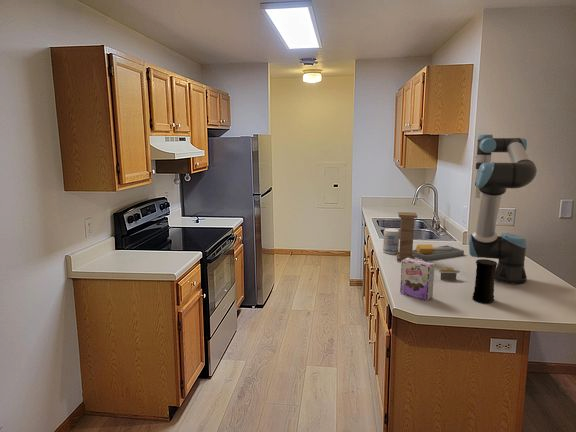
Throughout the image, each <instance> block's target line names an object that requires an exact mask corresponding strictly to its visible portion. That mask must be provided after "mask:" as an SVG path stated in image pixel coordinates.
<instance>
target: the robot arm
mask: <svg viewBox="0 0 576 432" xmlns="http://www.w3.org/2000/svg"><path fill="white" fill-rule="evenodd" d="M493 136H494V135H493V134H479V135H478V136H477V147H476V148H477V149H476V156H475V161H476V163H475V170H477V172H476V177H475V182H474V186H475V191H474V194H475V195H474V198H475V199H480V202H479V207H478V213H477V214H478V215H477V221H476V222H477V223H476V228H475V229H474V230H473V231H472V233H469V234H468V248H469V249H468V250H469V251H468V252H469V256H471V257H473V258H478V259H479V258H480V259H494V260H495V259H497V260H498V262H497V266H496V269H495V272H496V273H495V280H496V281H498V282H501V283H504V284H510V285H523V284H526V283H527V280H528V277H527V274H526V273H527V272H526V268H525V261H526V259H525V258H526V249H527V240H526V238H525V237H523V236H520V235H517V234H514V233H505V232H503V233H502V232H501V234H500V235H499V236H498V233H497V232H496V227H497V222H498V217H499V216H498V215H499V211H500V210H499V209H500V206H501V199H502V196H503V195H504V194H505V193H506V191H507V189H520V188H524V187H526V186H528V185H529V184H531V183H532V182H533V181H534V179H535V178H536V176H537V173H538V172H537V171H538V168H537V166H536V164H535V162H534V161H532V160H531V159H530V158H529V155H528V154H527V152H526V150H527V147H528V142H527V141H528V140H527V138H524V137H493ZM492 153H507V154H508V157H509V159H510V162H494V161H492Z"/></svg>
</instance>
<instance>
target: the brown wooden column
mask: <svg viewBox="0 0 576 432" xmlns="http://www.w3.org/2000/svg"><path fill="white" fill-rule="evenodd" d="M397 214H398V218H400V228H399V250H398V253H397V254H395V255H396V257H397V258H396V257H395V258H396V262H397V261H402V260H403V259H406V258H411V259H415V260H416V257H414V255H412V251H413V250H414V248H413V247H414V230H415V228H414V226H415V219H418V214H417V212H410V211H409V212H407V211H399V212H398V213H397Z"/></svg>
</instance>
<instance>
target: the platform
mask: <svg viewBox="0 0 576 432" xmlns="http://www.w3.org/2000/svg"><path fill="white" fill-rule="evenodd" d="M438 273H440V279H441V280H442V281H445V280H446V281H447V280H448V281H457V274H460V270H456V269H455V268H454V267H453V266H452V267H448V266H445V267H443V266H442V267H441V269H439V270H438ZM441 280H440V281H441Z"/></svg>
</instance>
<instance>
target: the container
mask: <svg viewBox="0 0 576 432" xmlns="http://www.w3.org/2000/svg"><path fill="white" fill-rule="evenodd" d="M475 264H476V270H475V281H474V282H475V283H474V289H473V293H472V300H473V301H475V302H476V303H479V304H484V305H485V304H486V305H487V304H493V303H494V302H495V294H494V293H495V282H496V281H495V280H496V279H495V273H496V272H495V269H496V267H497V265H498V262H497V261H496V260H492V259H489V258H480V259H479V258H478V259H476V261H475Z"/></svg>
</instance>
